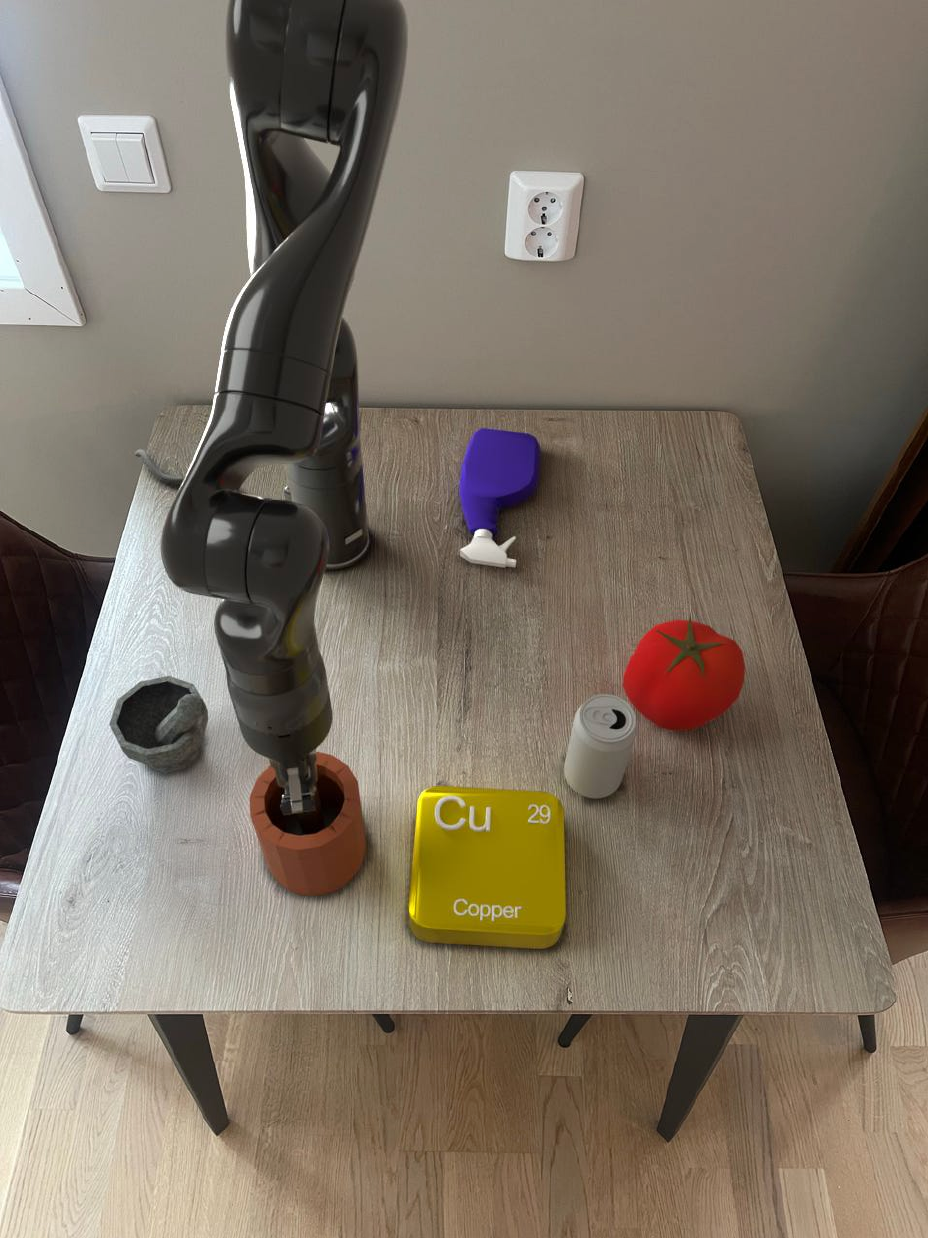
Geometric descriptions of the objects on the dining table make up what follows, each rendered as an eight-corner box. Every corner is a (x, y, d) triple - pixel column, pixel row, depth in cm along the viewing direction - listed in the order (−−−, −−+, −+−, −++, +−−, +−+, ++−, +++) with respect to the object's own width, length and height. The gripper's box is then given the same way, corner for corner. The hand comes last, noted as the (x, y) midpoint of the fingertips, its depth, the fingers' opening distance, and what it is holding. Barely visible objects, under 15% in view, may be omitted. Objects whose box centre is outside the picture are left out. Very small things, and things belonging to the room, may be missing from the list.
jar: (245, 859, 95) (226, 809, 86) (311, 786, 100) (299, 733, 91) (322, 916, 91) (310, 870, 83) (385, 837, 97) (381, 787, 88)
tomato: (607, 662, 111) (623, 601, 102) (716, 656, 112) (741, 595, 103) (628, 751, 104) (646, 694, 95) (744, 743, 105) (773, 686, 96)
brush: (278, 850, 95) (254, 774, 82) (314, 810, 97) (296, 730, 85) (320, 881, 93) (302, 807, 80) (355, 838, 96) (343, 761, 83)
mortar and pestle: (109, 768, 101) (76, 708, 91) (156, 701, 106) (129, 637, 97) (200, 802, 98) (176, 744, 89) (243, 731, 104) (224, 670, 95)
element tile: (407, 942, 90) (406, 924, 86) (419, 802, 99) (418, 781, 95) (561, 951, 90) (567, 934, 86) (559, 810, 99) (564, 789, 95)
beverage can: (618, 807, 99) (637, 750, 90) (558, 795, 100) (572, 737, 91) (623, 756, 103) (642, 696, 94) (566, 745, 104) (580, 685, 95)
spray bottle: (469, 424, 133) (442, 550, 118) (545, 433, 132) (527, 561, 118) (468, 439, 135) (442, 565, 121) (543, 448, 135) (525, 576, 120)
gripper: (229, 627, 77) (260, 737, 90) (234, 775, 68) (267, 871, 82) (320, 616, 78) (337, 726, 91) (336, 760, 69) (352, 857, 83)
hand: (304, 794), depth 86 cm, fingers closed on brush, 2 cm apart
